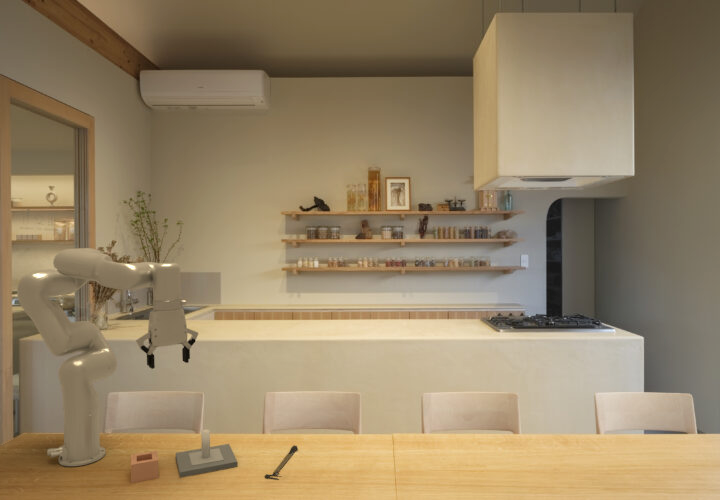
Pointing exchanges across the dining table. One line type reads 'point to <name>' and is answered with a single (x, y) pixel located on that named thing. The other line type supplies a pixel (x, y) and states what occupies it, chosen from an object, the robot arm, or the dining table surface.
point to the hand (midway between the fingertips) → (169, 364)
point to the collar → (144, 466)
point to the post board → (205, 458)
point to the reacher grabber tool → (282, 464)
